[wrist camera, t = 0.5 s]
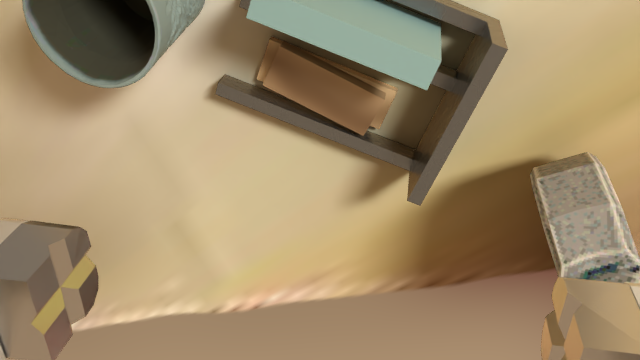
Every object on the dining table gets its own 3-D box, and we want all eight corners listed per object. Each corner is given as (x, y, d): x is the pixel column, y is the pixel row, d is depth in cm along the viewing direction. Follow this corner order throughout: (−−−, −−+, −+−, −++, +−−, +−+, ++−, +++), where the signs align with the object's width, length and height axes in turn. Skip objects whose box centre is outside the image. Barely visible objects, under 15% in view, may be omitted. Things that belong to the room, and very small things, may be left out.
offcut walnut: (283, 40, 52) (280, 46, 50) (385, 93, 53) (384, 99, 51) (266, 78, 54) (262, 85, 52) (365, 128, 55) (363, 136, 53)
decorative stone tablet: (729, 539, 47) (646, 221, 36) (640, 545, 49) (537, 247, 39) (656, 362, 64) (585, 111, 53) (592, 373, 66) (512, 134, 56)
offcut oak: (273, 33, 53) (269, 39, 52) (397, 85, 54) (396, 92, 52) (260, 73, 55) (256, 79, 54) (380, 122, 56) (378, 129, 55)
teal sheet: (283, -42, 49) (255, -15, 41) (440, 22, 50) (441, 61, 42) (274, -14, 50) (246, 17, 43) (428, 48, 51) (426, 90, 43)
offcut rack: (266, -75, 48) (243, -59, 42) (499, 20, 49) (507, 49, 43) (222, 85, 56) (196, 118, 50) (421, 164, 57) (420, 205, 51)
